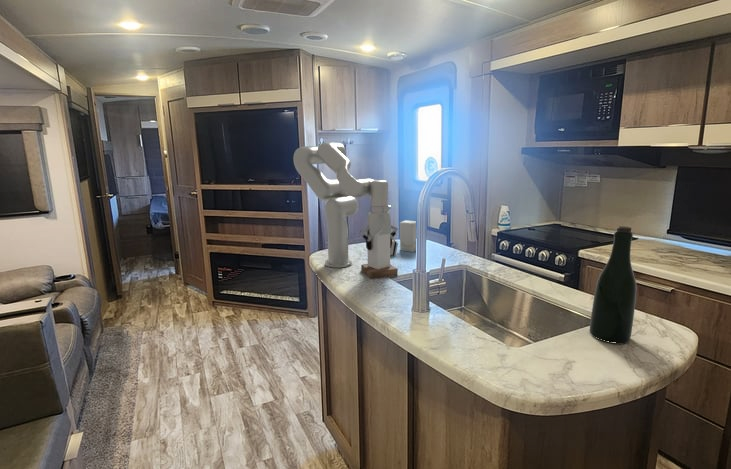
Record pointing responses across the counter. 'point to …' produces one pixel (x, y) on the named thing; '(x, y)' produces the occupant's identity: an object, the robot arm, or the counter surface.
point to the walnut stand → (379, 271)
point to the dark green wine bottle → (615, 293)
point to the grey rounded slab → (393, 247)
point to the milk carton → (379, 250)
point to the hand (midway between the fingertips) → (379, 248)
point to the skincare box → (408, 236)
